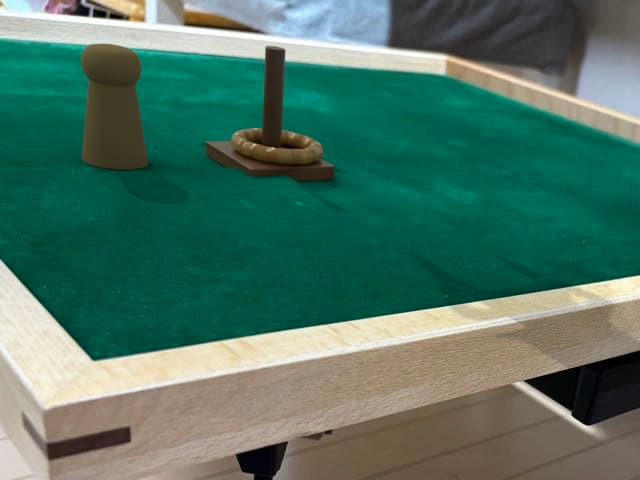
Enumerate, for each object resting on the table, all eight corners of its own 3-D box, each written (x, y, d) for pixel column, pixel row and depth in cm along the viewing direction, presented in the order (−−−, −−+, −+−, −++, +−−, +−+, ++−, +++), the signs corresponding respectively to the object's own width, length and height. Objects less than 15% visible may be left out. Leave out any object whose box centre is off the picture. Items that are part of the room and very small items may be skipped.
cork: (154, 157, 92) (152, 46, 86) (140, 173, 86) (137, 56, 81) (91, 148, 90) (85, 35, 85) (73, 163, 85) (66, 44, 80)
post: (250, 183, 90) (254, 56, 84) (205, 155, 96) (206, 33, 90) (334, 179, 97) (343, 61, 91) (287, 153, 103) (293, 40, 97)
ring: (258, 167, 90) (259, 152, 90) (215, 141, 96) (215, 126, 95) (338, 165, 97) (340, 150, 96) (294, 140, 102) (294, 126, 101)
